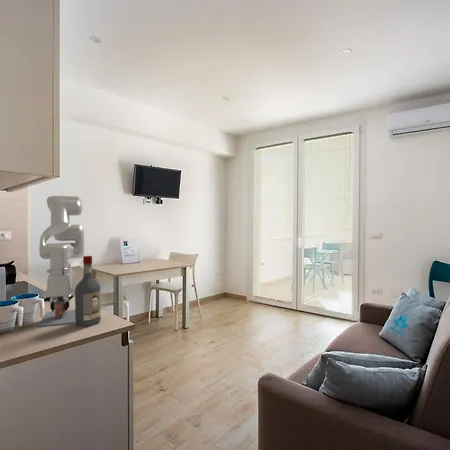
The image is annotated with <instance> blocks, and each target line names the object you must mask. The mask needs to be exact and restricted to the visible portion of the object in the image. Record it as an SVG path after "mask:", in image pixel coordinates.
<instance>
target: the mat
mask: <svg viewBox="0 0 450 450" xmlns="http://www.w3.org/2000/svg"><path fill="white" fill-rule="evenodd" d="M67 312H68V314H67V315H66V316H64V317H62V318H59V319H55V310H54V311H53V312H52V311H47V312H46V313H45V315H44V316H43V318H42V319H41V320H40V322H39V323H38V325H37V327H38V328H43V327H54V326H63V325H72V324H75V309H68V310H67Z"/></svg>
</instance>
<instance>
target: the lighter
mask: <svg viewBox="0 0 450 450" xmlns="http://www.w3.org/2000/svg"><path fill="white" fill-rule="evenodd" d="M65 302H66V298H64V296H63V297H55V299H54V306H55V310H54V311H55V319H59V318H62V317H64V316H66V315H67V314H68V312H67V310H65Z"/></svg>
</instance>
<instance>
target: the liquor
mask: <svg viewBox="0 0 450 450" xmlns="http://www.w3.org/2000/svg"><path fill="white" fill-rule="evenodd" d="M82 264H83V276H82V279H81V280H80V281H78V283H77V285H76V286H75V288H74V290H75V296H74V308H75V309H74V310H75V322H74V324H75V325H76V326H79V327H83V328H85V327H92V326H94V325H97V324H99V323H100V322H101V320H102V317H101V316H102V315H101V313H102V311H101V310H102V309H101V308H102V304H101V303H102V301H101V296H102V295H101V294H102V293H101V285H100V283H99V282H98V281H97V280H96V279H95V278H94V277H93V276H94V275H93V256H92V255H83V257H82Z"/></svg>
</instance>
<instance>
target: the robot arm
mask: <svg viewBox="0 0 450 450" xmlns="http://www.w3.org/2000/svg"><path fill="white" fill-rule="evenodd" d="M46 205H47V207H48V209H49V211H50V212H49V213H50V225H49V226H48V227H47V228H46V229H44V231H43V232H42V234H41V235H40V239H39V252H38V254H39V256H40V257H39V258H41V259H43V260H49V269H46V273H49V275H47V281H46V290H45V292H43V294H42V295H41V297H42V298H43V299H45V300H46V301H47V302H48V303H49V306H50V307H49V308H50V309H49V310H51V312H53V311H55V306H54V302H55V297H63V296H64V298H66V302H65V310H69V308H70V301H71V300H72V299H73V298H75V288H73V286H72V285H73V284H72V266H71V264H70V262H69V260H71V259H83V256H85V233H84V227H83V225H81V224H78V223H77V224H75V223H74V224H71V223H70V221H71V219H70V216H80V215H82V211H83V202H82V199H81V197H80V196H76V195H74V196H72V195H71V196H69V195H51V196H48V197H47V199H46ZM52 237H53V238H54V240H55V241H59V242H54V243H53V242H51V243H48V242H47V241H48V240H49V239H50V238H52ZM60 241H61V242H60ZM68 241H70V242H68ZM71 241H74V242H71ZM50 297H51V298H50Z"/></svg>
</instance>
